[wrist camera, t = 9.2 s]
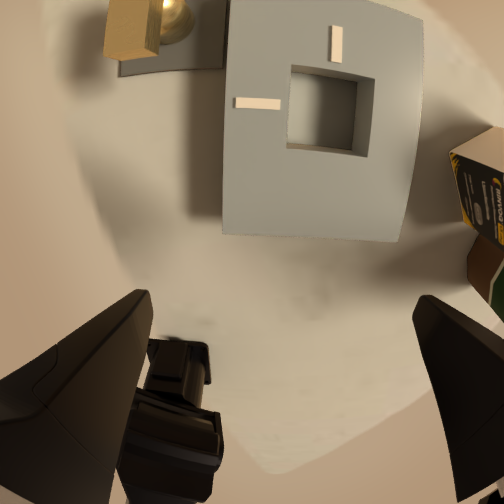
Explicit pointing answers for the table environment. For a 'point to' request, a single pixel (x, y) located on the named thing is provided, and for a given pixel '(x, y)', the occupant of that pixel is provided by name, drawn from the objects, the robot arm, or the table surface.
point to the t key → (145, 27)
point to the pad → (189, 44)
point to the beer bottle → (487, 273)
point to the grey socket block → (317, 157)
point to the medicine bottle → (482, 183)
